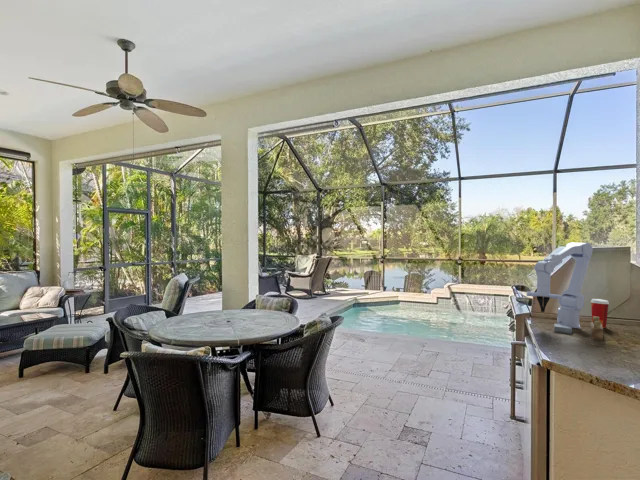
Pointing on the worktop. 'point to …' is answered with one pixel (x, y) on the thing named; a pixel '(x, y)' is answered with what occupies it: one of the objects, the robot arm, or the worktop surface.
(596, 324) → the bench dog block
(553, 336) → the worktop surface
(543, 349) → the worktop surface
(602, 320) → the paper cup
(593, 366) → the worktop surface
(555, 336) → the worktop surface
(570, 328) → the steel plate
